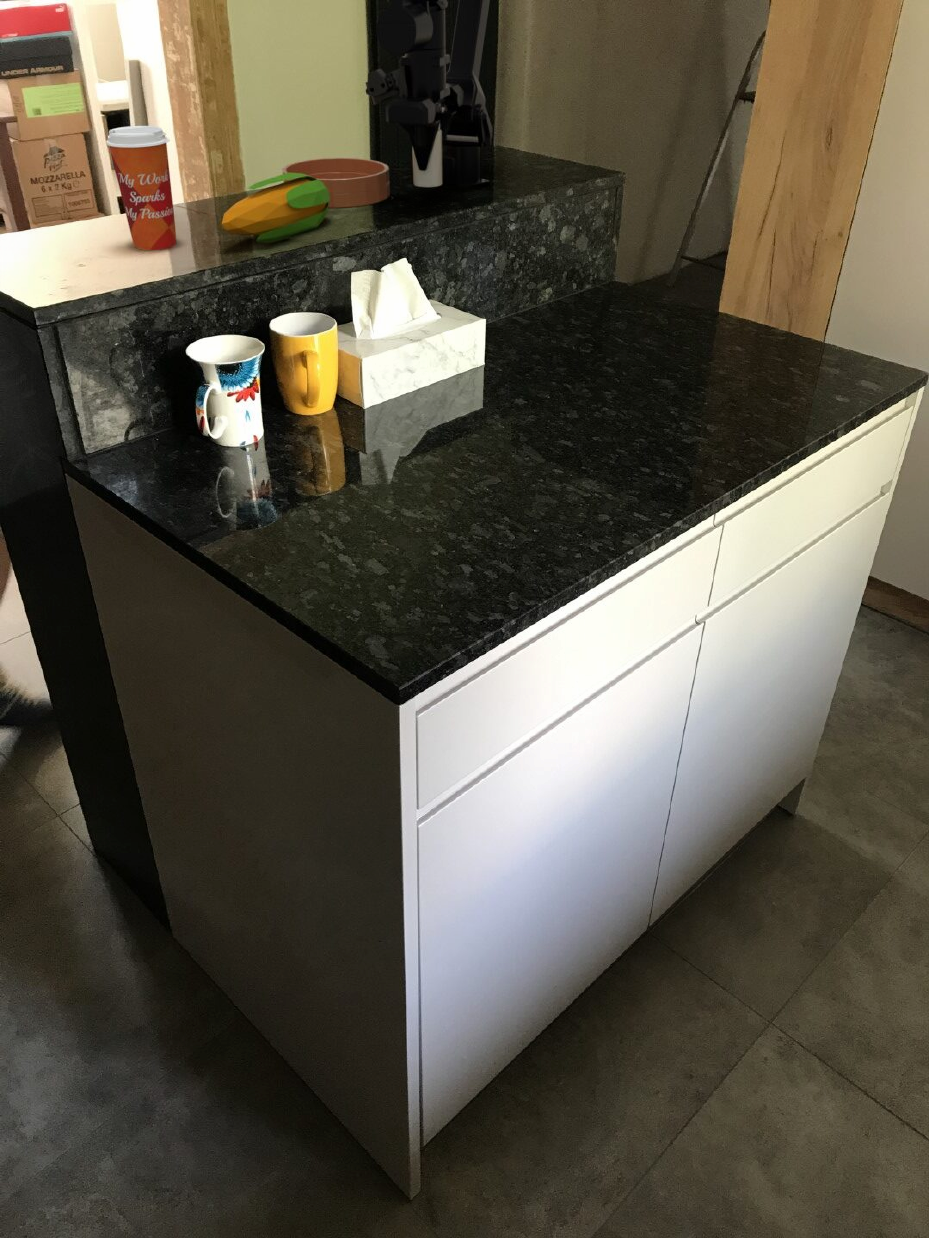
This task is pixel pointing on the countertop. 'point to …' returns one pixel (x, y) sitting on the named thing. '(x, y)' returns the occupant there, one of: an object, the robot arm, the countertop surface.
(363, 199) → the bowl
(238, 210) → the corn
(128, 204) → the paper cup
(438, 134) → the cylinder
